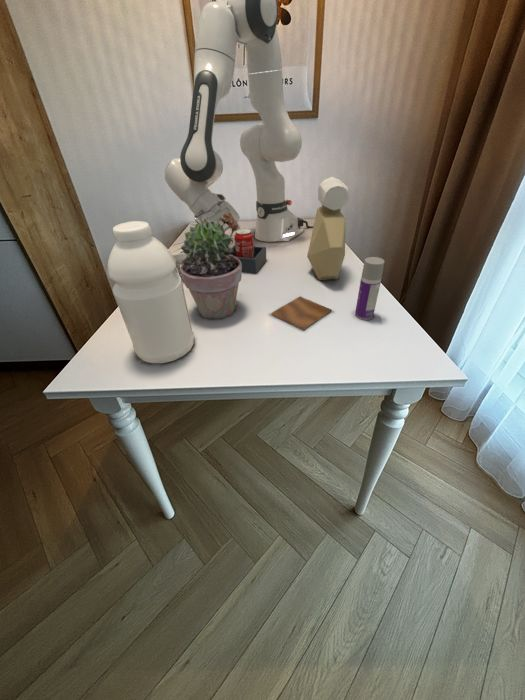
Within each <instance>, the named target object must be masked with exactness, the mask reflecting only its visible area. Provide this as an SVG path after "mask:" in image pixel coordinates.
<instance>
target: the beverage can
mask: <svg viewBox="0 0 525 700" xmlns="http://www.w3.org/2000/svg"><path fill="white" fill-rule="evenodd" d="M233 238H234V239H235V241H234V246H235V248H236V257H242V258H253V259H254V246H255V243H254V234H253V232H252V230H251V229H249V228H241V229H239V230H237V231H236V230H235V234H234V237H233ZM239 241H240V242H239Z"/></svg>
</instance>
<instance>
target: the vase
mask: <svg viewBox="0 0 525 700" xmlns="http://www.w3.org/2000/svg"><path fill="white" fill-rule="evenodd" d="M317 197H318V198H317V199H318V201H319V203H320V204H321V206H318V207H317V208H316V213H315V217H314V222H313V225H312V226H313V228H312V230H311V237H310V240H309V246H308V251H307V255H306V257H307V259H308V261H309V263H310V265H311V267H312V270H313V271H314V273H315V275H316V278H317V279H318V280H320V281H327V280H329V281H330V280H331V281H332V280H337V279H338V278H339V276H340V272H341V269H342V266H343V263H344V260H345V256H346V221H347V218H346V217H345V216H344V215H343V214H342V212H341V210H342V209H343V207H345V206H346V205H347V203H348V201H349V198H350V197H349V187H348V186H347V185H346V184H345V183H344V182H343V181H342V180H341V179H338V178H336V177H335V176H330V177H328V178H326V179H324V180H323V181H321V183H320V184H319V185H318V188H317Z"/></svg>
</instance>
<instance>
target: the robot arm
mask: <svg viewBox="0 0 525 700" xmlns="http://www.w3.org/2000/svg"><path fill="white" fill-rule="evenodd" d="M278 18H279V4H278V0H211V1H209V2H207V3H206V4H205V5H204V6H203V7H202V9H201V11H200V16H199V21H198V25H197V32H196V37H195V45H194V46H195V47H194V61H193V63H194V66H193V67H194V68H193V92H192V99H191V107H190V117H189V125H188V132H187V136H186V140H185V142H184V144H183V146H182V148H181V151H180V157H175V158H173V159H171V161H169V163H168V164H167V166H166V168H165V171H164V180H165V182H166V184H167V185H168V187H169V188H170V190H172V192H173V193H174V195H176V196H177V198H178V199H179V200H180V201H182V202H183V203H185V205H187V207H188V208H189V210H190V211H191V212H192V214H194V215H193V216H194V217H193V218H194V221H195V223H196V224H200V223H201V221H203V222H204V219H206V221H207V222H209V223H210V222H214V225H215V224H216V223H217V220H218V222H219V221H220V220H221V219H220V218H224V217H223V215H224V214H225V213H231V214H232V216H233V218H234V219H235V221H236V222H237V230H239V229H242V227H241V225H240V224H239V223H238V221H240V215H239V213H238V212H237V210H236V209H235V208H234V207H233V206H232V204H231V203H229V201H226V196H225V195H223V194H222V193H215V192H212V191H211V190H210V189H209V187H210V186H212V185H213V184H214V183H215V182H217V181H218V180H220V177H221V176H222V174H223V170H224V163H223V160H222V158H221V156H220V155H219V154H218V152H216V150H214V147H213V132H214V125H215V116H216V109H217V106H218V104H219V102H220V101H221V100H222V99H224V98H226V97H227V96H228V95H229V94H230V91H231V87H232V84H233V80H234V75H235V74H234V73H235V66H236V53H237V46H239V45H243V46H244V48H245V50H246V63H247V65H246V66H247V77H248V80H247V81H248V90H249V99H250V100H249V101H250V105H251V107H252V108H253V109H254V111H256V113H258V115H259V117H260V119H261V122H262V124H253V125H250V126H248V127H246V128H244V129H243V130H242V132H241V134H240V139H239V146H240V151H241V153H242V154H243V155H244V156H245V157H246V159H247V160H248V162H249V164H250V166H251V169H252V172H253V175H254V180H255V188H256V202H255V207H256V209H255V210H256V221H255V223H256V224H255V225H256V226H255V230H254V233H255V234H254V238H255V240H258V241H261V242H268V243H269V242H270V243H273V242H274V243H275V242H288V241H290V240H292V239H294V238H296V237H297V236H299V235H300V234H302V233H304V228H303V227H304V224H305V227H306V228H307V229H313V226H314V225H311V226H310V225H309V222H308V221H307V220H304V219H303V218H300V217H297V216H296V215H295V214H294V213H293V212H291V210H290V209H289V208H288V206H292V204H293V202H292V200H291V199H285V198H286V197H285V196H286V195H285V194H286V193H285V191H286V190H285V187H286V186H285V182H286V181H285V177H284V176H283V175H282V173H281V172H280V171H279V170H278V168H277V165H276V162H277V163H284V162H290V161H294V160H296V158H298V156H299V154H300V153H301V150H302V145H303V144H302V142H303V140H302V136H301V133H300V131H299V129H298V128H297V127H296V126H295V125H294V123H293V121H292V120H291V118H290V116H289V113H288V110H287V106H286V102H285V96H284V82H283V81H284V80H283V63H282V62H283V61H282V53H281V46H280V45H281V44H280V38H279V34H278V30H277V25H278ZM207 217H208V219H207ZM219 219H220V220H219ZM224 219H225V218H224ZM219 224H220V225H223V224H224V223H223V222H222V221H220V222H219ZM223 228H224V231H225V232H227V231H228V230H229V229H230V227H229V226H228V225H227V224H226V223H225V224H224V225H223ZM237 230H235V232H236V231H237ZM233 244H234V239H232V240H231V242H230V244H229V247H231V246H232V245H233Z"/></svg>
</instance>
